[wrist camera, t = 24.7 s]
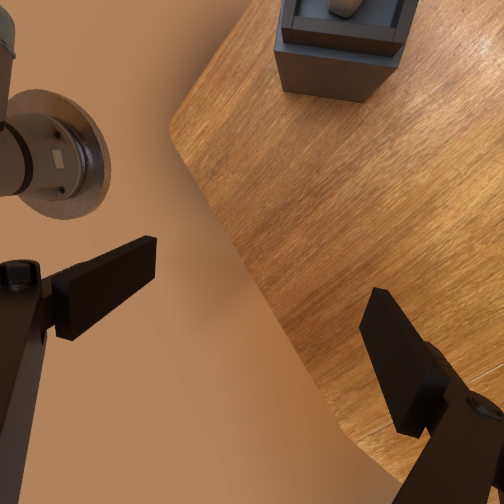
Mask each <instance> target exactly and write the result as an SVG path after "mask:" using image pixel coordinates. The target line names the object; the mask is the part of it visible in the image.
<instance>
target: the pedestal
mask: <svg viewBox="0 0 504 504" xmlns="http://www.w3.org/2000/svg"><path fill="white" fill-rule="evenodd" d="M418 1H419V0H363V2H362V3H361V5H360V6H359V7H358V9H357V10H356V11H355V12H354V13H353V14H352V15H351V16H350V17H348V18H346V17H342V16H339V15H337V14H335V13H333V12H331V11H330V10H329V7H328V0H282V4H281V10H280V16H279V22H278V28H277V34H276V40H275V46H274V54H275V58H276V62H277V67H278V71H279V75H280V80H281V84H282V89H283V91H286V92H293V93H299V94H306V95H312V96H319V97H325V98H332V99H338V100H345V101H351V102H358V103H364V101H365V100H366V99H367V98H368V97H369V96H370V95H371V94H372V93H373V92H374V91H375V90H376V89H377V88H378V87H379V86H380V85H381V84H382V83H383V82H384V81H385V80H386V79H387V78H388V77H389V76H390V75H391V74H392V73H393V72H394V71H395V70H396V69H397V68H398V66H399V63H400V60H401V57H402V53H403V50H404V47H405V44H406V40H407V37H408V34H409V31H410V27H411V24H412V21H413V17H414V14H415V11H416V8H417V4H418Z"/></svg>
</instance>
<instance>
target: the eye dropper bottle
mask: <svg viewBox="0 0 504 504" xmlns="http://www.w3.org/2000/svg"><path fill="white" fill-rule="evenodd" d="M362 2H363V0H328V7H329V10H330V11H331V12H333V13H335V14H337V15H339V16H342V17H346V18H348V17H350V16H351V15H352V14H353V13H354V12H355V11H356V10H357V9H358V7H359V6H360V5H361V3H362Z"/></svg>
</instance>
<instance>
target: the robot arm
mask: <svg viewBox="0 0 504 504" xmlns="http://www.w3.org/2000/svg"><path fill="white" fill-rule="evenodd" d="M14 42H15V25H14V22H13V20H12V18H11V16H10V15H9V13H8V12H7V11H6V10H5V9H4V8H3V7H2V6H1V5H0V197H2V196H10V195H19V196H24V197H29V198H33V199H38V200H43V201H59V200H65V199H68V198H70V197H72V196H74V195H75V194H76V193H77V192H78V191H79V189H80V188H81V186H82V184H83V181H84V177H85V159H84V155H83V151H82V149H81V146H80V144H79V142H78V140H77V138H76V137H75V135H74V134H73V133H72V131H71V130H70V129H69V128H68V127H67V126H66V125H65V124H64V123H62V122H61V121H60V120H58V119H56V118H54V117H52V116H49V115H45V114H40V113H35V112H28V113H20V114H15V115H10V116H6V111H7V103H8V95H9V87H10V78H11V70H12V62H13V59H15V58H16V54H15V52H14ZM156 243H157V238H155V237H151V236H146V235H145V236H143V237H140V238H139V239H136V240H134V241H131V242H129V243H127V244H125V245H123V246H121V247H118V248H116V249H114V250H111V251H109V252H107V253H105V254H102V255H100V256H98V257H96V258H94V259H91V260H89V261H86V262H81V263H78V264H75V265H73V266H71V267H70V268H66V269H64V270H62V271H60V272H57V273H55V274H53V275H50V276H48V277H46V278H43V279H41V274H40V265H39V263H38V262H36V261H33V260H12V261H7V262H3V263H1V264H0V504H18V501H19V495H20V489H21V484H22V478H23V473H24V467H25V461H26V455H27V449H28V443H29V438H30V433H31V427H32V421H33V416H34V410H35V404H36V399H37V393H38V387H39V382H40V376H41V370H42V365H43V359H44V353H45V348H46V342H47V329H48V328H50V327H52V326H53V325H55V330H56V337H60V338H63V339H67V340H70V341H73V340H75V339H76V338H77V337H78V336H80V335H81V334H82V333H84V332H85V331H86V330H87V329H89V328H90V327H91V326H93V325H94V324H95V323H97V322H98V321H99V320H101V319H102V318H103V317H104V316H106V315H107V314H108V313H110V312H111V311H112V310H113V309H115V308H116V307H118V305H120V304H121V303H123V302H124V301H125V300H127V299H128V298H129V297H131V296H132V295H133V294H134V293H136V292H137V291H138V290H140V289H141V288H142V287H144V286H145V285H146V284H147V283H149V282H150V281H151V280H153V279H154V278H155V263H156ZM359 329H360V332H361V335H362V338H363V340H364V343H365V346H366V349H367V351H368V354H369V357H370V360H371V362H372V365H373V368H374V371H375V373H376V376H377V379H378V382H379V384H380V387H381V390H382V393H383V395H384V398H385V401H386V404H387V406H388V409H389V412H390V415H391V417H392V420H393V423H394V426H395V428H396V431H397V433H401V434H404V435H408V436H411V437H415V438H418V439H419V437H420V436H421V434H422V432H423V430H424V428H425V427H426V428H427V430H428V432H429V434H430V436H431V437H430V439H429V441H428V442H427V444H426V446H425V448H424V449H423V451H422V453H421V454H420V456H419V458H418V459H417V461H416V463H415V465H414V466H413V468H412V470H411V471H410V473H409V475H408V476H407V478H406V480H405V482H404V483H403V485H402V487H401V488H400V490H399V492H398V494H397V495H396V497H395V499H394V500H393V502H392V504H487V500H488V496H489V493H490V489H491V486H493V487H495V488H497V489H498V494H499V500H500V504H504V413H503V411H502V410H501V409H500V408H499V407H498V406H496V405H495V404H494V403H493V402H491V401H490V400H489V399H487V398H486V397H484V396H482V395H480V394H478V393H476V392H473V391H470V390H469V389H468V387H467V386H466V385H465V383H464V382H463V381H462V379H461V378H460V377H459V375H458V374H457V373H456V371H455V370H454V369H452V366H451V365H450V363H449V362H448V361H447V359H446V358H445V357H444V355H443V354H442V353H441V352H440V351H439V350H438V349H437V348H436V347H435V346H433V345H432V344H431V343H430V342H426V341H423V339H422V338H421V337H420V335H419V334H418V332H417V331H416V329H415V328H414V327H413V325H412V324H411V322H410V321H409V320H408V318H407V317H406V315H405V314H404V312H403V311H402V310H401V308H400V307H399V305H398V304H397V303H396V301H395V300H394V298H393V297H392V295H391V294H390V293H389V291H388V290H385V289H380V288H376V287H374V288H373V291H372V293H371V296H370V299H369V302H368V304H367V307H366V310H365V312H364V315H363V318H362V321H361V323H360V326H359Z"/></svg>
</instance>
